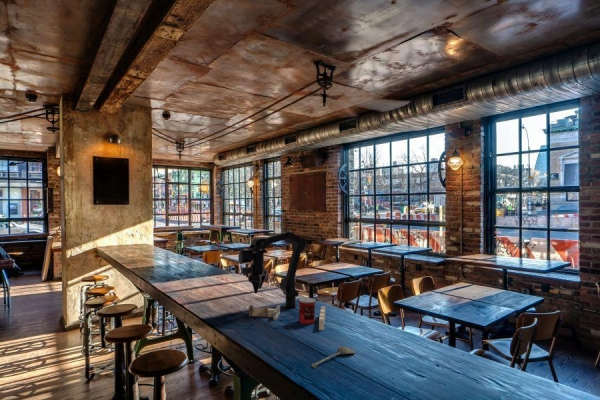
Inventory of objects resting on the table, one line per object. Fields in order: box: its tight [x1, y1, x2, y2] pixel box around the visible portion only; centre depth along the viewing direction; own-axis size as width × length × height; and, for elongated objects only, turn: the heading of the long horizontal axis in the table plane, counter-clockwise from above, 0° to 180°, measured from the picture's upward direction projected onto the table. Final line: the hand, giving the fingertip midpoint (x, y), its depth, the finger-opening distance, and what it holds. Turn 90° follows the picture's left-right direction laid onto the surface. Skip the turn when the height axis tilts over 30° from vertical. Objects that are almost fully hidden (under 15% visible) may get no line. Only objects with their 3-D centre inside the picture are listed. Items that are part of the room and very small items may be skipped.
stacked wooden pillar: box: [248, 304, 281, 321], centre depth 182 cm, size 15×12×4 cm
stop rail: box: [318, 305, 326, 331], centre depth 172 cm, size 20×2×5 cm, turn 174°
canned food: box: [298, 297, 316, 326], centre depth 173 cm, size 8×8×11 cm
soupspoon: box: [311, 346, 356, 369], centre depth 133 cm, size 22×3×7 cm
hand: (257, 291), depth 188 cm, fingers open, 9 cm apart
